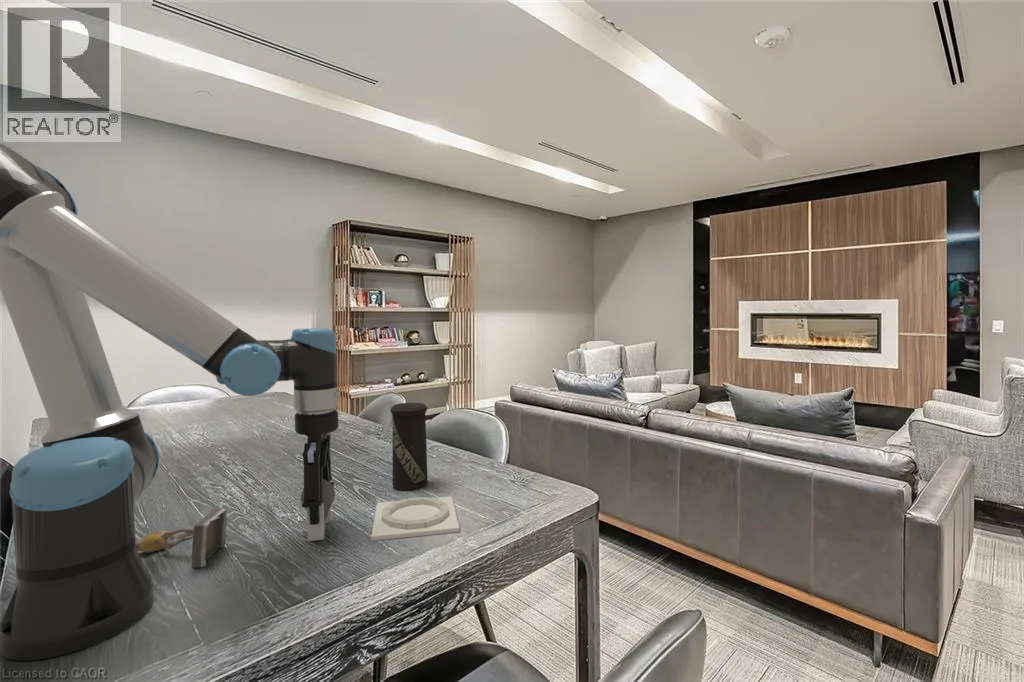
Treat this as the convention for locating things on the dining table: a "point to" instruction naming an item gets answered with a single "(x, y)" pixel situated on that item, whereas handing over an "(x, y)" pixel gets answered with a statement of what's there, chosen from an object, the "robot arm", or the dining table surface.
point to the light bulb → (324, 498)
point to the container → (409, 446)
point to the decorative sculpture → (205, 537)
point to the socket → (414, 518)
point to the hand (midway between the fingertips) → (320, 530)
